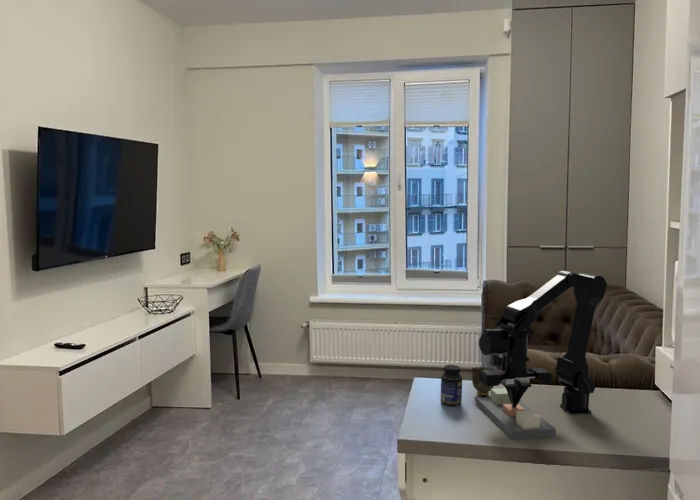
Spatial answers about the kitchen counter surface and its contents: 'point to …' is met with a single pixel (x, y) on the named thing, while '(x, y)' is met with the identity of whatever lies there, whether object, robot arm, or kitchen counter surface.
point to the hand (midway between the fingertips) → (513, 406)
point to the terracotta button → (511, 409)
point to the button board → (513, 421)
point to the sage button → (499, 396)
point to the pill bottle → (451, 386)
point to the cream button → (527, 419)
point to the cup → (478, 385)
